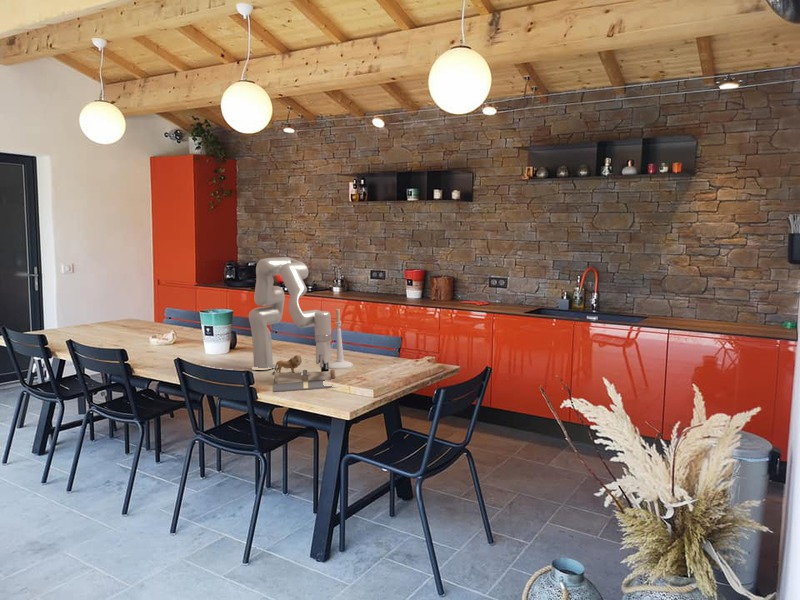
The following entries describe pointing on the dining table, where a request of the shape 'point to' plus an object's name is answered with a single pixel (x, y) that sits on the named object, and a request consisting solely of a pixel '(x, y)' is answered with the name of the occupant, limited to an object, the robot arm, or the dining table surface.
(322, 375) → the fence gate
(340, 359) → the candlestick
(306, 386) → the board
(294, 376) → the fence fixed
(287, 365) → the lion figurine
